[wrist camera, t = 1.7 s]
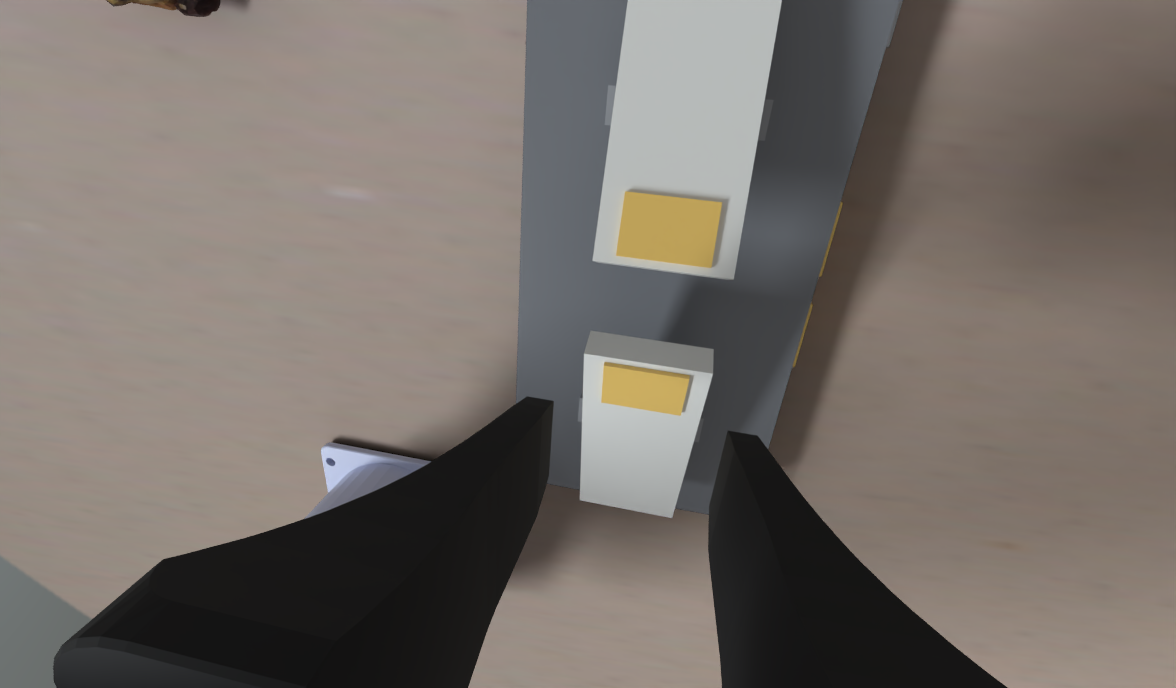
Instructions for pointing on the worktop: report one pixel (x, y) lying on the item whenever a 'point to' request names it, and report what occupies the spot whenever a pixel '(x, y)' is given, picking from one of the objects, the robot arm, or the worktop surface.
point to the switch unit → (672, 300)
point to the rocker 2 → (640, 419)
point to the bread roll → (177, 5)
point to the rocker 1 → (685, 134)
